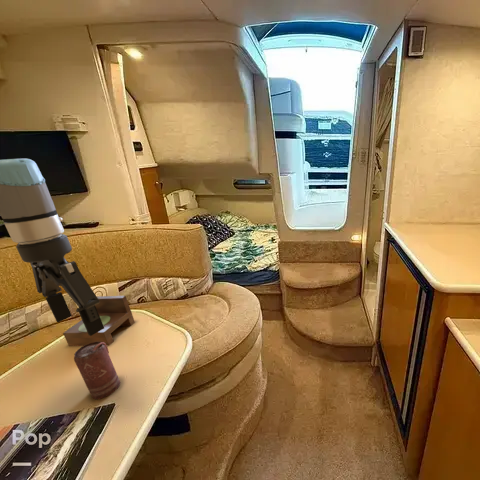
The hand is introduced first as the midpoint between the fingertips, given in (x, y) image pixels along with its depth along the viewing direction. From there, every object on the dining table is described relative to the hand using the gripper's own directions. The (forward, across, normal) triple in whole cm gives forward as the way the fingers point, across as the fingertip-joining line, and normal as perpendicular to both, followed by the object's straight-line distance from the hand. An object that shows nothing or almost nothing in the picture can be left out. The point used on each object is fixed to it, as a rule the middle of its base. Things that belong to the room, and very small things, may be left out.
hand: (80, 325), depth 61 cm
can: (+22, +3, -1) cm, 23 cm away
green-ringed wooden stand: (+22, +29, -14) cm, 39 cm away
